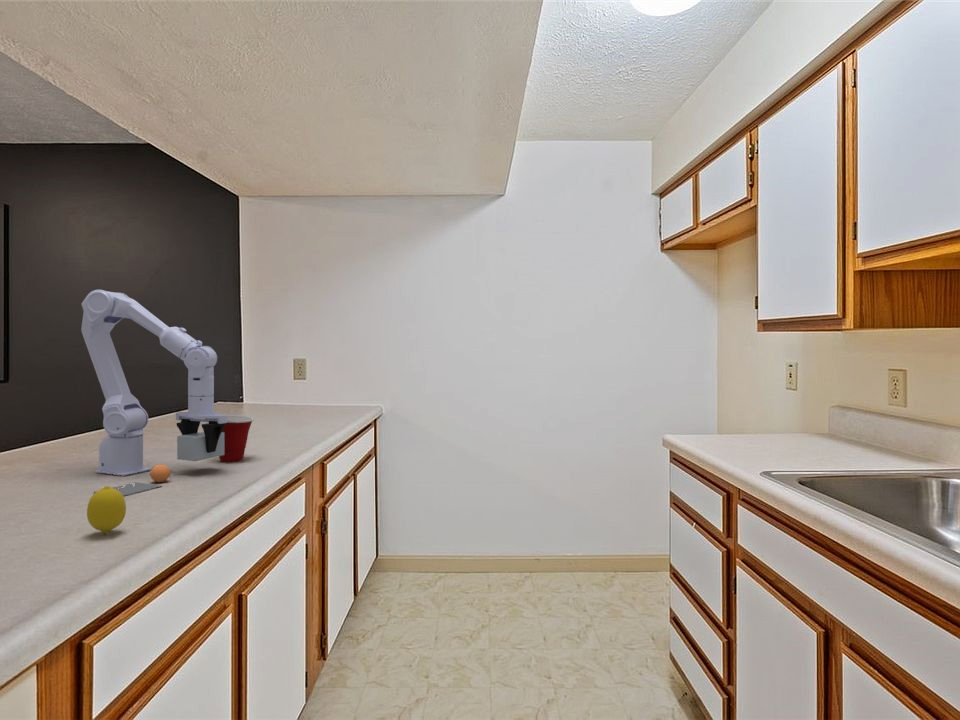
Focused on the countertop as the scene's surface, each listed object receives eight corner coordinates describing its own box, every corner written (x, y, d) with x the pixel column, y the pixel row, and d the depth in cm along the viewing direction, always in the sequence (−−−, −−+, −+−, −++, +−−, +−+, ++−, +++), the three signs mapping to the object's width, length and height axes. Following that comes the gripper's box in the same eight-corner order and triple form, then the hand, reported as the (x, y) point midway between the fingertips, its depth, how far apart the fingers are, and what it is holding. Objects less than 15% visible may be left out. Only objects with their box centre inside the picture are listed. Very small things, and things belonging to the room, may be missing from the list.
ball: (146, 483, 136) (146, 465, 135) (161, 479, 139) (161, 462, 139) (159, 484, 134) (159, 467, 134) (174, 481, 138) (174, 463, 138)
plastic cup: (238, 465, 156) (238, 419, 156) (201, 463, 158) (201, 417, 158) (261, 457, 167) (262, 414, 166) (226, 455, 169) (227, 413, 168)
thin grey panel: (93, 493, 126) (93, 492, 126) (135, 483, 135) (135, 482, 135) (120, 497, 123) (120, 496, 123) (161, 486, 132) (161, 485, 132)
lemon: (98, 528, 103) (98, 482, 103) (132, 528, 103) (132, 482, 103) (79, 539, 97) (79, 490, 97) (115, 538, 98) (115, 490, 98)
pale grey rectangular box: (177, 459, 144) (177, 436, 144) (206, 453, 153) (206, 431, 152) (195, 461, 142) (195, 437, 142) (224, 454, 150) (224, 432, 150)
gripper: (236, 395, 148) (236, 450, 148) (192, 393, 153) (192, 446, 154) (214, 398, 141) (214, 455, 142) (168, 395, 147) (168, 450, 147)
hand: (201, 451), depth 147 cm, fingers closed on pale grey rectangular box, 6 cm apart
